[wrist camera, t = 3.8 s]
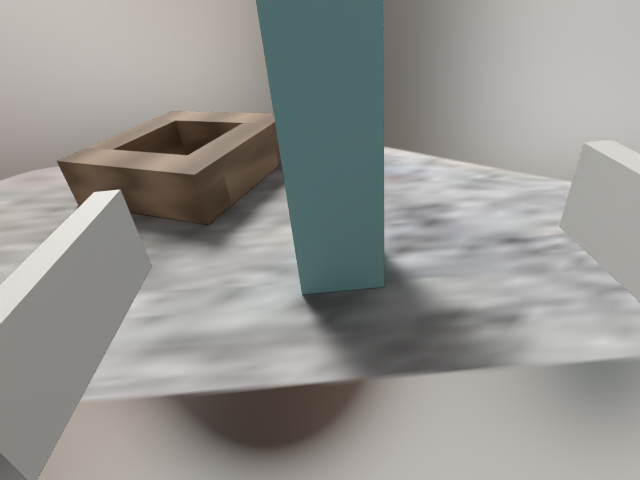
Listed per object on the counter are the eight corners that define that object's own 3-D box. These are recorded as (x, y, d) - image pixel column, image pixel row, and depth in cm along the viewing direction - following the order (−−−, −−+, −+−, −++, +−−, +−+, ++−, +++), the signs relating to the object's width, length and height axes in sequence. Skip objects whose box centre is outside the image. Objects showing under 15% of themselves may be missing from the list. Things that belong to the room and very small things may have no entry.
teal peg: (302, 294, 21) (254, -8, 14) (301, 248, 25) (264, -10, 17) (384, 286, 21) (383, -22, 14) (371, 241, 25) (365, -21, 17)
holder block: (78, 204, 34) (56, 160, 32) (182, 146, 44) (172, 111, 42) (209, 224, 29) (194, 174, 26) (292, 154, 39) (286, 114, 37)
